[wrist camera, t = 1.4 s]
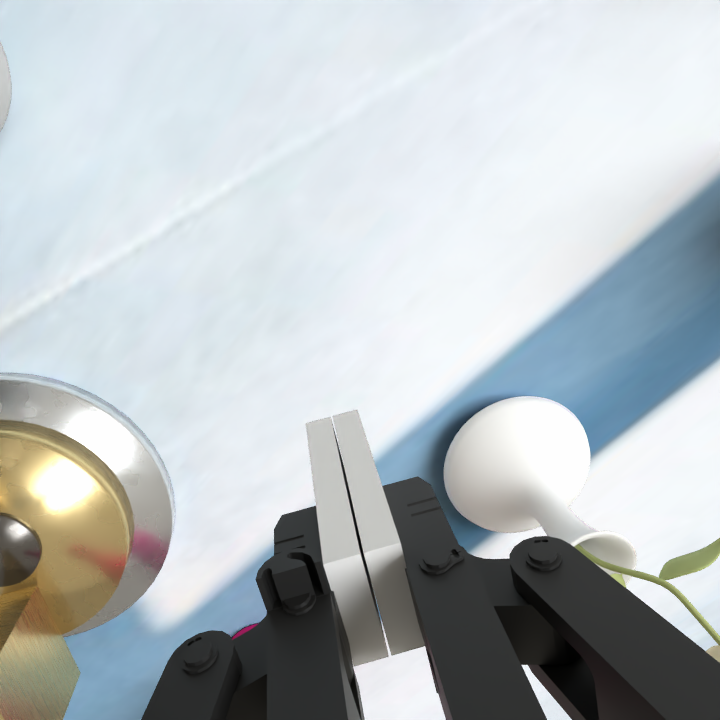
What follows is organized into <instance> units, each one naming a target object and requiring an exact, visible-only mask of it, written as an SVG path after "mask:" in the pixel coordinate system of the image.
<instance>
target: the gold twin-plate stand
mask: <svg viewBox="0 0 720 720" xmlns="http://www.w3.org/2000/svg"><path fill="white" fill-rule="evenodd" d="M133 540H134V518H133V511H132V508H131V504H130V500H129V498H128V496H127V493H126V491H125V489H124V487H123V485H122V484H121V482H120V481H119V479H118V477H117V476H116V474H115V473H114V472H113V471H112V470H111V468H110V467H109V466H108V465H107V464H106V463H105V462H104V461H103V460H102V459H101V458H100V457H99V456H98V455H97V454H96V453H94V452H93V451H91V450H90V449H89V448H87V447H86V446H85V445H83V444H82V443H80V442H78V441H76V440H75V439H73V438H71V437H69V436H67V435H65V434H63V433H60V432H58V431H56V430H53V429H50V428H47V427H44V426H41V425H37V424H33V423H27V422H22V421H13V420H0V720H63V718H64V715H65V713H66V710H67V707H68V705H69V702H70V699H71V697H72V694H73V691H74V689H75V686H76V683H77V681H78V678H79V675H80V671H79V669H78V667H77V665H76V663H75V661H74V659H73V657H72V655H71V653H70V651H69V649H68V647H67V645H66V643H65V641H64V638H63V636H62V634H65V633H67V632H70V631H72V630H73V629H75V628H77V627H79V626H81V625H82V624H84V623H85V622H87V621H88V620H89V619H91V618H92V617H93V616H95V615H96V614H97V613H98V612H99V611H100V610H101V609H102V608H103V607H104V606H105V605H106V603H107V602H108V601H109V599H110V598H111V597H112V595H113V594H114V592H115V590H116V588H117V587H118V585H119V582H120V580H121V577H122V574H123V572H124V569H125V566H126V564H127V561H128V558H129V555H130V553H131V549H132V545H133Z"/></svg>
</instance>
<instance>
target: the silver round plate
mask: <svg viewBox="0 0 720 720" xmlns="http://www.w3.org/2000/svg"><path fill="white" fill-rule="evenodd" d="M0 420H13V421H22V422H27V423H33V424H37V425H41V426H44V427H47V428H50V429H53V430H56V431H58V432H60V433H63V434H65V435H67V436H69V437H71V438H73V439H75V440H76V441H78V442H80V443H82V444H83V445H85V446H86V447H87V448H89V449H90V450H91V451H93V452H94V453H96V454H97V455H98V456H99V457H100V458H101V459H102V460H103V461H104V462H105V463H106V464H107V465H108V466H109V467H110V468H111V470H112V471H113V472H114V473H115V474H116V476H117V477H118V479H119V481H120V482H121V484H122V485H123V487H124V489H125V491H126V493H127V496H128V498H129V500H130V504H131V508H132V511H133V518H134V540H133V545H132V549H131V553H130V555H129V558H128V561H127V564H126V566H125V569H124V572H123V574H122V577H121V580H120V582H119V585H118V587H117V588H116V590H115V592H114V594H113V595H112V597H111V598H110V599H109V601H108V602H107V603H106V605H105V606H104V607H103V608H102V609H101V610H100V611H99V612H98V613H97V614H96V615H95V616H93V617H92V618H91V619H89V620H88V621H87V622H85V623H84V624H82V625H81V626H79V627H77V628H75V629H73V630H72V631H70V632H67V633H65V634H62V636H63V637H67V636H71V635H74V634H78V633H81V632H85V631H87V630H90V629H92V628H95V627H97V626H100V625H102V624H104V623H106V622H107V621H109V620H111V619H113V618H115V617H117V616H118V615H119V614H121V613H122V612H124V611H125V610H126V609H128V608H129V607H130V606H132V605H133V604H134V603H135V602H136V601H137V600H138V599H139V598H140V597H141V596H142V595H143V594H144V593H145V592H146V590H147V589H148V588H149V587H150V585H151V584H152V583H153V582H154V580H155V578H156V577H157V575H158V573H159V571H160V570H161V568H162V565H163V563H164V560H165V558H166V555H167V553H168V549H169V545H170V542H171V538H172V533H173V529H174V521H175V502H174V493H173V489H172V485H171V481H170V477H169V475H168V472H167V470H166V467H165V465H164V462H163V461H162V459H161V457H160V455H159V454H158V452H157V450H156V449H155V447H154V445H153V444H152V443H151V442H150V440H149V439H148V438H147V437H146V435H145V434H144V433H143V431H141V430H140V429H139V428H138V427H137V426H136V425H135V424H134V423H133V422H132V421H131V420H130V419H129V418H128V417H127V416H126V415H124V414H123V413H122V412H120V411H119V410H118V409H117V408H115V407H114V406H113V405H111V404H109V403H108V402H106V401H104V400H103V399H101V398H99V397H98V396H96V395H94V394H92V393H90V392H87V391H85V390H83V389H81V388H79V387H76V386H74V385H71V384H67V383H64V382H61V381H58V380H55V379H51V378H46V377H41V376H36V375H29V374H18V373H0Z"/></svg>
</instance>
